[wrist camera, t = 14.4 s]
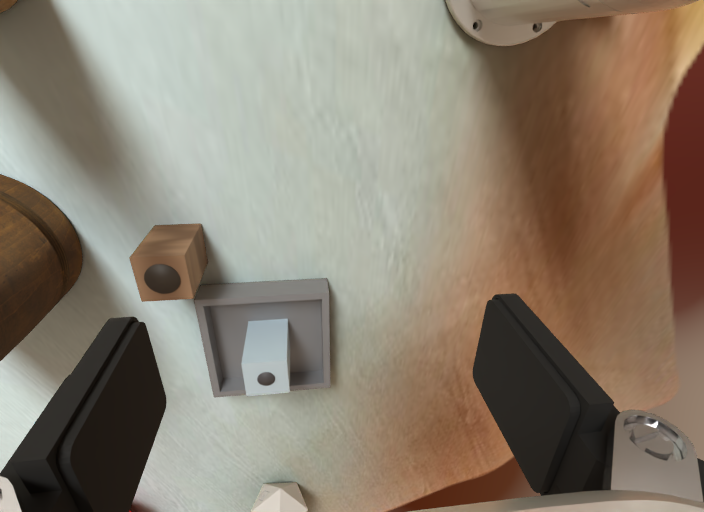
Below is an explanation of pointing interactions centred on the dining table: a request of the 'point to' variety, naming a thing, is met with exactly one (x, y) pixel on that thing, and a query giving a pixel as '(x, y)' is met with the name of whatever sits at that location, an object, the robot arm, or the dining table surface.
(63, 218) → the wooden container
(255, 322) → the grey rectangular block
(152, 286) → the walnut block
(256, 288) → the tray
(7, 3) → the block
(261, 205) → the dining table surface
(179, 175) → the dining table surface
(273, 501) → the die
